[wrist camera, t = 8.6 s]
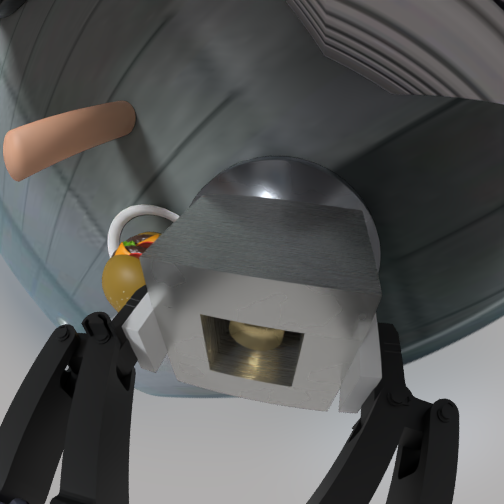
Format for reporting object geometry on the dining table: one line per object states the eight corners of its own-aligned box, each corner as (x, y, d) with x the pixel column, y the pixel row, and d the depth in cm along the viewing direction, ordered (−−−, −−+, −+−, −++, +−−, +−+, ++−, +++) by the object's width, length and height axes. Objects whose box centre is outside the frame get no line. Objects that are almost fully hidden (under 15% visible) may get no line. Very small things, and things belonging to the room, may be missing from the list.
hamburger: (130, 309, 23) (98, 352, 19) (83, 185, 17) (29, 219, 13) (257, 327, 20) (237, 388, 16) (235, 166, 14) (191, 205, 10)
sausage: (103, 127, 14) (2, 168, 8) (114, 95, 13) (5, 122, 6) (128, 142, 14) (25, 190, 8) (140, 108, 13) (28, 141, 7)
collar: (214, 305, 18) (177, 380, 13) (205, 192, 14) (139, 257, 9) (333, 324, 16) (327, 411, 11) (362, 210, 12) (382, 295, 7)
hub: (166, 263, 18) (118, 325, 13) (244, 113, 12) (187, 130, 7) (299, 343, 19) (286, 416, 14) (416, 240, 13) (450, 319, 8)
